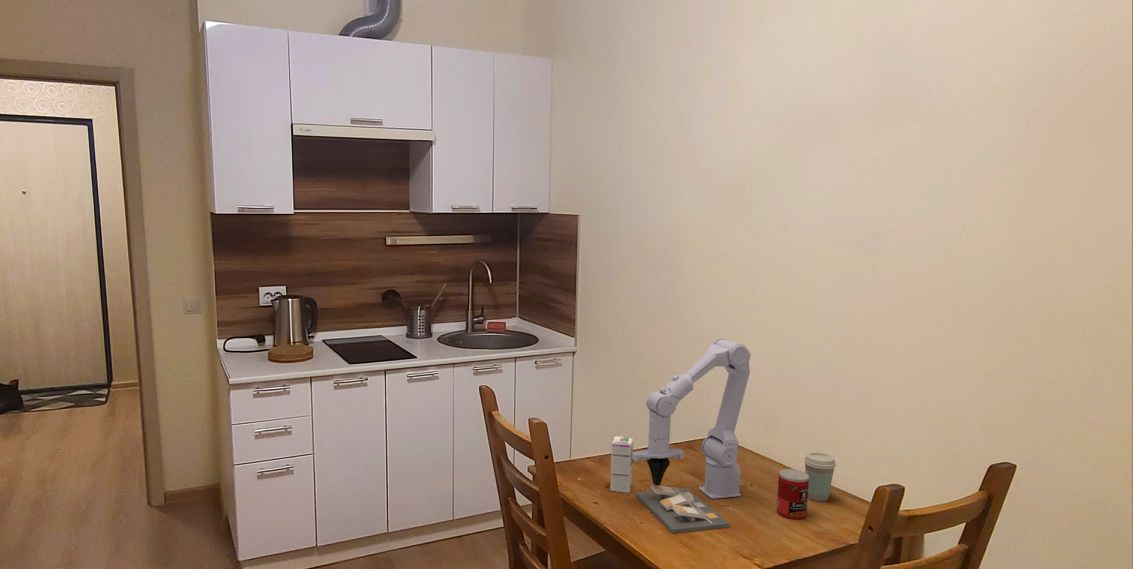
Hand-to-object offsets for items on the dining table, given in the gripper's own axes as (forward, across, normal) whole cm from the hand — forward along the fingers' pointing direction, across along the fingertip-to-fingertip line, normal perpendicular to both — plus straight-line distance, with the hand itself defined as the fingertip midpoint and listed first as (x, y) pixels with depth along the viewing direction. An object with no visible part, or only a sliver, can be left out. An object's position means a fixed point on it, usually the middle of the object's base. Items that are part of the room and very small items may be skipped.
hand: (656, 484), depth 199 cm
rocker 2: (+2, -3, +7) cm, 8 cm away
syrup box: (+5, +6, -11) cm, 14 cm away
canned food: (+5, -33, +15) cm, 37 cm away
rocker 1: (+2, -3, 0) cm, 4 cm away
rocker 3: (+2, -3, +14) cm, 15 cm away
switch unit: (+5, -4, +7) cm, 10 cm away
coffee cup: (+5, -47, +7) cm, 48 cm away
